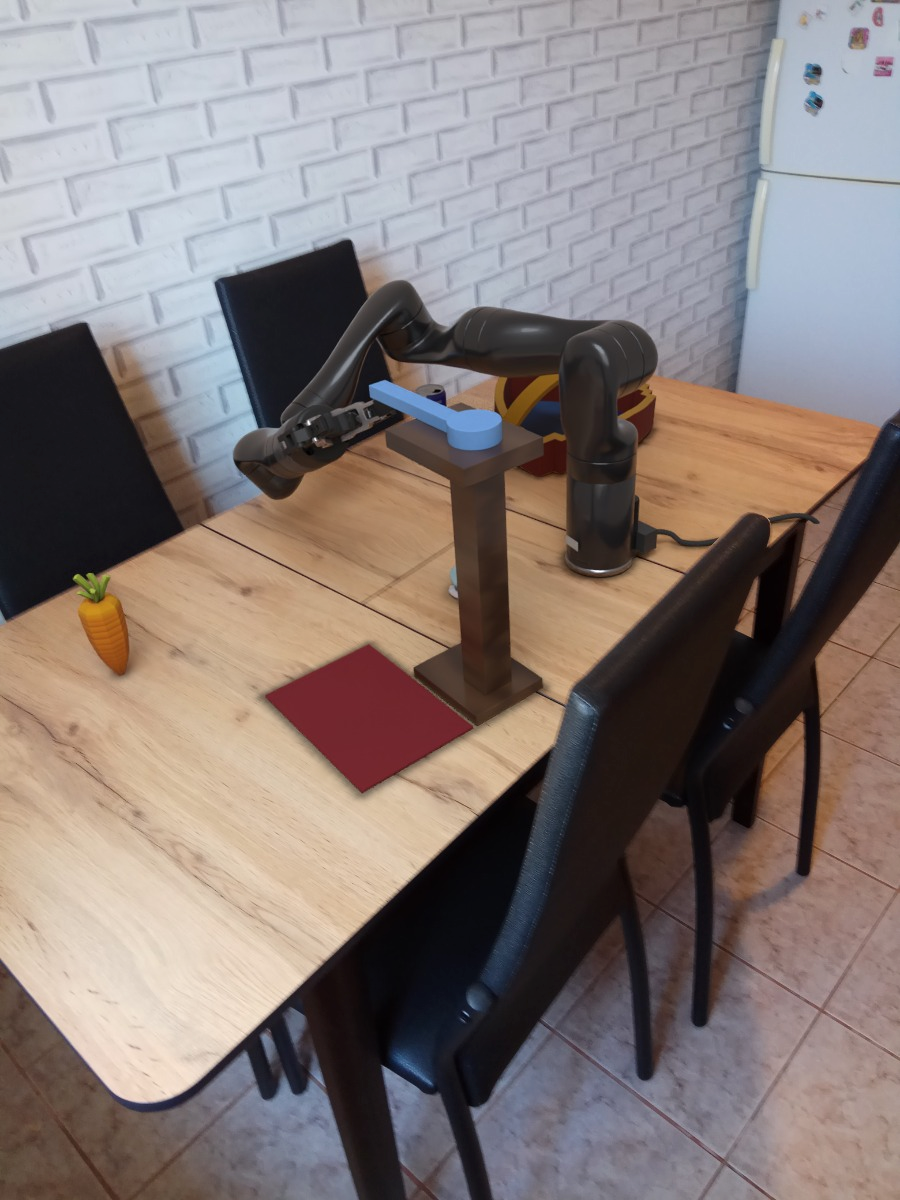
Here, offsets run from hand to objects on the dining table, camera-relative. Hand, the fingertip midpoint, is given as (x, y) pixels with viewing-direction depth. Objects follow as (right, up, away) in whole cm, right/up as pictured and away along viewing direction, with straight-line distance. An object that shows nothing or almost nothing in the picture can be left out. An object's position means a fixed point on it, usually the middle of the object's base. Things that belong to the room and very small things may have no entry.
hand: (361, 411), depth 107 cm
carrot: (-31, -31, +9) cm, 45 cm away
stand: (+13, -32, +3) cm, 35 cm away
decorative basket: (+31, +7, +60) cm, 68 cm away
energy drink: (+8, +4, +57) cm, 58 cm away
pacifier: (+13, -21, +20) cm, 32 cm away
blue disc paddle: (+8, -3, -11) cm, 14 cm away
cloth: (0, -35, 0) cm, 35 cm away
